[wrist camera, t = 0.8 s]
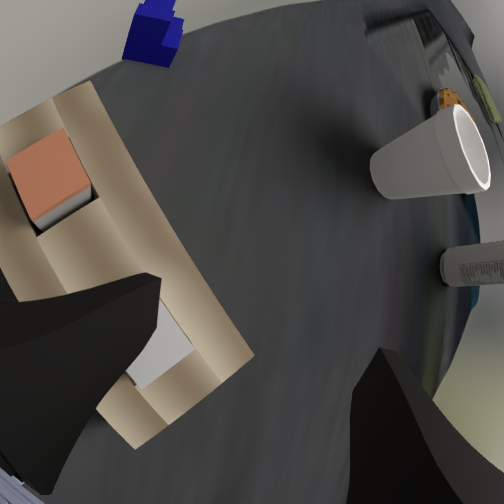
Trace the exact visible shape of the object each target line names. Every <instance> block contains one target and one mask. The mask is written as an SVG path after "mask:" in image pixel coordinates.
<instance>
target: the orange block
mask: <svg viewBox="0 0 504 504" xmlns="http://www.w3.org/2000/svg"><path fill="white" fill-rule="evenodd" d="M6 162H7V164H8V167H9V170H10V172H11V175H12V177H13V180H14V182H15V185H16V187H17V189H18V192H19V194H20V196H21V199H22V201H23V203H24V205H25V208H26V210H27V212H28V214H29V216H30V218H31V220H32V221H33V222H34V223H35V224H36V225H37V227H38V228H39V229H40V230H41V231H42V232H43V233H44V232H45V231H47V230H48V229H50V228H51V227H53V226H54V225H56V224H57V223H59V222H61V221H62V220H64V219H65V218H67V217H68V216H70V215H72V214H73V213H75V212H76V211H78V210H80V209H81V208H83V207H84V206H86V205H88V204H89V203H91V182H90V180H89V178H88V176H87V174H86V172H85V170H84V168H83V166H82V164H81V162H80V160H79V158H78V156H77V154H76V152H75V150H74V148H73V146H72V144H71V142H70V140H69V138H68V136H67V133H66V131H65V129H64V127H63V128H62V129H60V130H58V131H56V132H54V133H52V134H50V135H49V136H47V137H45V138H43V139H41V140H40V141H38V142H36V143H34V144H33V145H31V146H29V147H28V148H26V149H24V150H23V151H21V152H19V153H18V154H16V155H15V156H13V157H11V158H10V159H8V160H7V161H6Z"/></svg>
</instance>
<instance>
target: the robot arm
mask: <svg viewBox="0 0 504 504" xmlns="http://www.w3.org/2000/svg"><path fill="white" fill-rule="evenodd" d="M161 281H162V278H160V277H157V276H155V275H152V274H149V273H147V272H144V273H139V274H135V275H132V276H128V277H125V278H122V279H119V280H115V281H112V282H109V283H106V284H102V285H99V286H96V287H92V288H89V289H85V290H81V291H77V292H73V293H69V294H66V295H61V296H56V297H51V298H45V299H39V300H32V301H22V302H9V303H0V504H45V503H43V502H42V501H41V500H39V499H38V498H37V497H35V496H34V495H33V494H31V493H30V492H29V491H27V490H26V489H25V488H24V487H22V486H21V485H22V484H24V483H26V484H27V485H28V486H30V487H31V488H32V489H34V490H35V491H36V492H38V493H39V494H40V495H49V494H52V492H53V489H54V486H55V484H56V482H57V480H58V477H59V475H60V473H61V471H62V468H63V466H64V464H65V462H66V460H67V458H68V456H69V454H70V452H71V450H72V448H73V446H74V445H75V443H76V441H77V439H78V437H79V436H80V434H81V432H82V430H83V429H84V427H85V425H86V424H87V422H88V420H89V419H90V417H91V416H92V414H93V412H94V411H95V409H96V408H97V406H98V405H99V403H100V402H101V400H102V399H103V398H104V396H105V395H106V394H107V392H108V391H109V390H110V389H111V388H112V386H113V385H114V384H115V383H116V382H117V381H118V379H119V378H120V377H121V376H122V375H123V373H124V372H125V371H126V370H127V369H128V368H129V366H130V365H131V364H132V363H133V362H134V360H135V359H136V358H137V357H138V356H139V354H140V353H141V352H142V351H143V349H144V348H145V346H146V345H147V343H148V341H149V340H150V338H151V337H152V335H153V333H154V332H155V330H156V328H157V320H158V309H159V299H160V290H161ZM346 504H504V473H503V472H502V471H501V470H499V469H497V467H495V466H494V465H493V464H491V463H490V462H489V461H488V460H487V459H486V458H484V457H483V456H482V455H481V454H480V453H479V452H478V451H477V450H475V449H474V448H473V447H472V446H471V445H470V444H469V443H468V442H467V441H466V440H465V439H464V437H463V436H462V435H461V434H460V433H459V432H458V431H457V430H456V429H455V428H454V427H453V426H452V424H451V423H450V422H449V421H448V420H447V418H446V417H445V416H444V415H443V414H442V412H441V411H440V410H439V408H438V407H437V406H436V404H435V403H434V402H433V400H432V399H431V398H430V396H429V395H428V394H427V392H426V391H425V390H424V388H423V387H422V385H421V384H420V383H419V381H418V380H417V379H416V377H415V376H414V374H413V373H412V372H411V370H410V369H409V367H408V366H407V365H406V363H405V362H404V361H403V360H402V358H401V357H400V356H399V355H398V354H397V352H396V351H392V350H388V349H384V348H381V347H379V348H378V350H377V352H376V354H375V355H374V357H373V359H372V360H371V362H370V364H369V365H368V367H367V369H366V370H365V372H364V374H363V375H362V377H361V379H360V380H359V382H358V383H357V385H356V387H355V388H354V390H353V393H352V401H351V410H350V482H349V490H348V497H347V503H346Z"/></svg>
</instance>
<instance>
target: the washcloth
mask: <svg viewBox="0 0 504 504" xmlns="http://www.w3.org/2000/svg"><path fill="white" fill-rule="evenodd" d="M473 78H474V79H473V82H474V84H475V86H476V88H477V91H478V93H479V95H480V97H481V99H482V102H483V104H484V106H485V109H486V111H487V113H488V116H489V118H490V120H491V122H494V123H497V124H500V123H501V116H500V114H499V112H498V110H497V108H496V105H495V103H494V100H493V99H492V96H491V94H490V92H489V90H488V88H487V86H486V85H485V83H484V82H483V81H482V80H481V79H480V78H479V77H477V75H473Z"/></svg>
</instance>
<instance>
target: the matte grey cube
mask: <svg viewBox="0 0 504 504" xmlns="http://www.w3.org/2000/svg"><path fill="white" fill-rule="evenodd" d="M193 350H195V348H194V347H193V345H192V344H191V343H190V341H189V340H188V338H187V337H186V336H185V334H184V333H183V331H182V330H181V329H180V327H179V326H178V324H177V323H176V322H175V320H174V319H173V317H172V316H171V314H170V313H169V311H168V310H167V308H166V307H165V306H164V304H163V303H162V301H161V300H160V299H159V309H158V320H157V328H156V330H155V332H154V333H153V335H152V337H151V338H150V340H149V341H148V343H147V345H146V346H145V348H144V349H143V351H142V352H141V353H140V354H139V356H138V357H137V358H136V359H135V360H134V362H133V363H132V364H131V365H130V366H129V368H128V369H127V370H126V372H127V373H128V374H129V375H130V377H131V378H132V379H133V380H134V381H135V383H136V384H137V385H138V386H139V387H140V389H141V390H142V389H143V388H145V387H146V386H147V385H149V384H150V383H151V382H153V381H154V380H155V379H157V378H158V377H159V376H161V375H162V374H163V373H165V372H166V371H167V370H169V369H170V368H171V367H173V366H174V365H175V364H176V363H178V362H179V361H180V360H182V359H183V358H184V357H186V356H187V355H188V354H189V353H191V352H192V351H193Z"/></svg>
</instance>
